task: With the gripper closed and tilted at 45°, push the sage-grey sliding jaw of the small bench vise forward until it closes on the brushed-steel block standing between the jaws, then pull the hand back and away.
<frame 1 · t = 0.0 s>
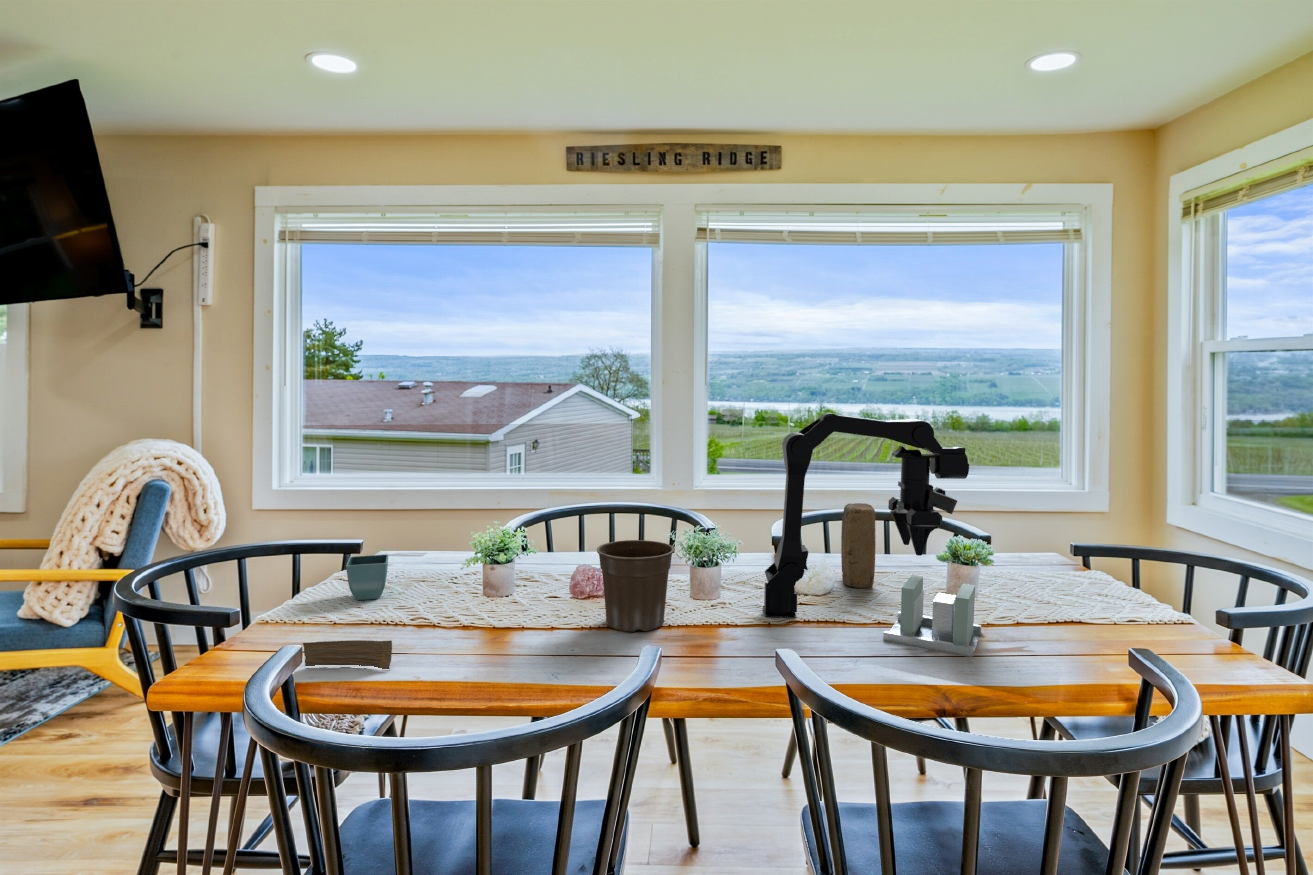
hand: (912, 549, 154), 15 cm above the table, tool pointing down, fingers open, 9 cm apart
flower pot: (369, 597, 168), on the table
wood plank: (347, 670, 127), on the table
plant pot: (635, 623, 151), on the table
block: (856, 583, 180), on the table
fixed jaw: (963, 616, 138), point 6 cm above the table
sliding jaw: (912, 606, 142), point 6 cm above the table, slide at 0.0 cm
vise base: (943, 642, 140), on the table
steel block: (943, 637, 140), point 1 cm above the table, touching vise base
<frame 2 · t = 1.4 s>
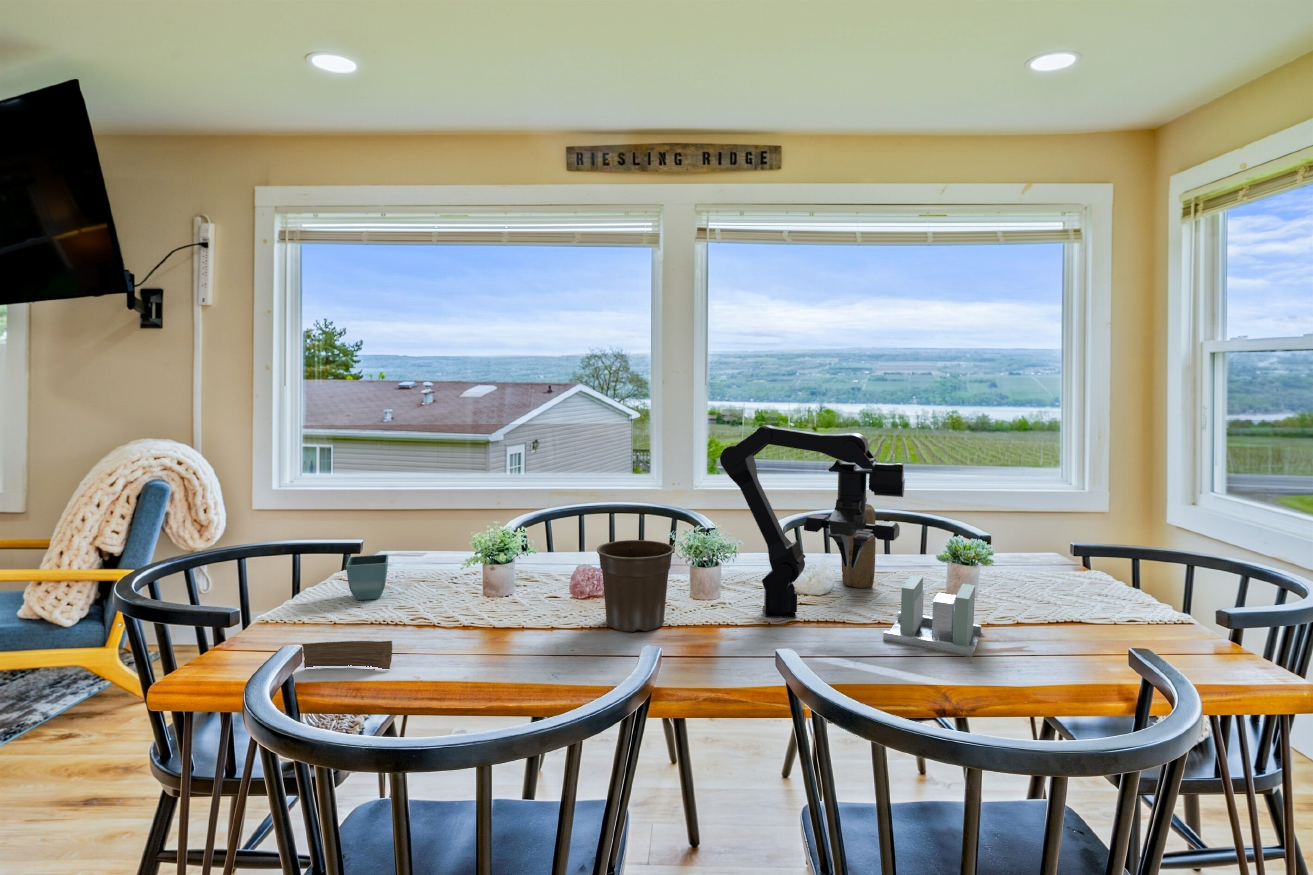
hand: (849, 567, 150), 12 cm above the table, tool pointing down, fingers closed
nothing on the table moved.
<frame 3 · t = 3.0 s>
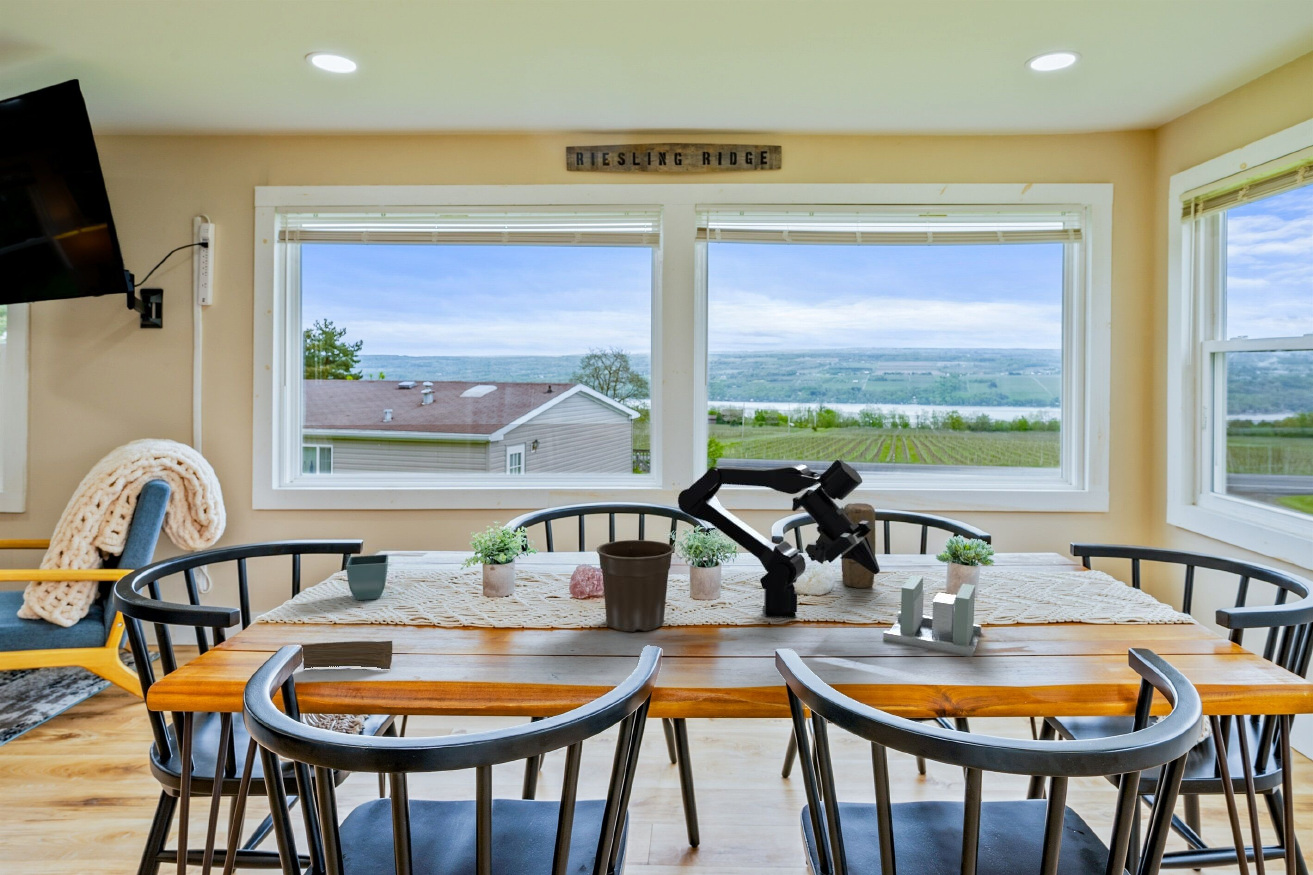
hand: (877, 572, 145), 12 cm above the table, tool tilted 45°, fingers closed
nothing on the table moved.
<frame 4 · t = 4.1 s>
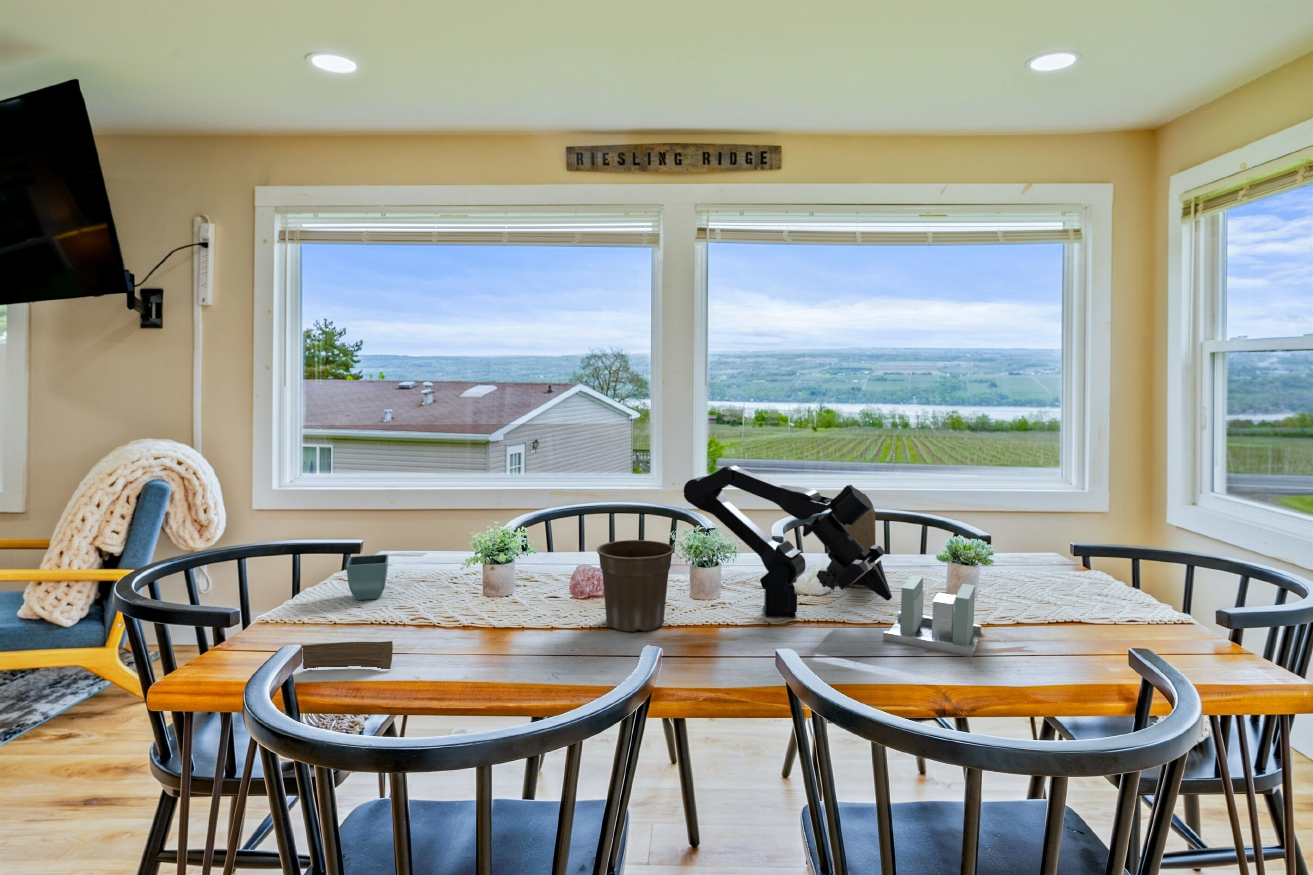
hand: (890, 599, 144), 7 cm above the table, tool tilted 45°, fingers closed
nothing on the table moved.
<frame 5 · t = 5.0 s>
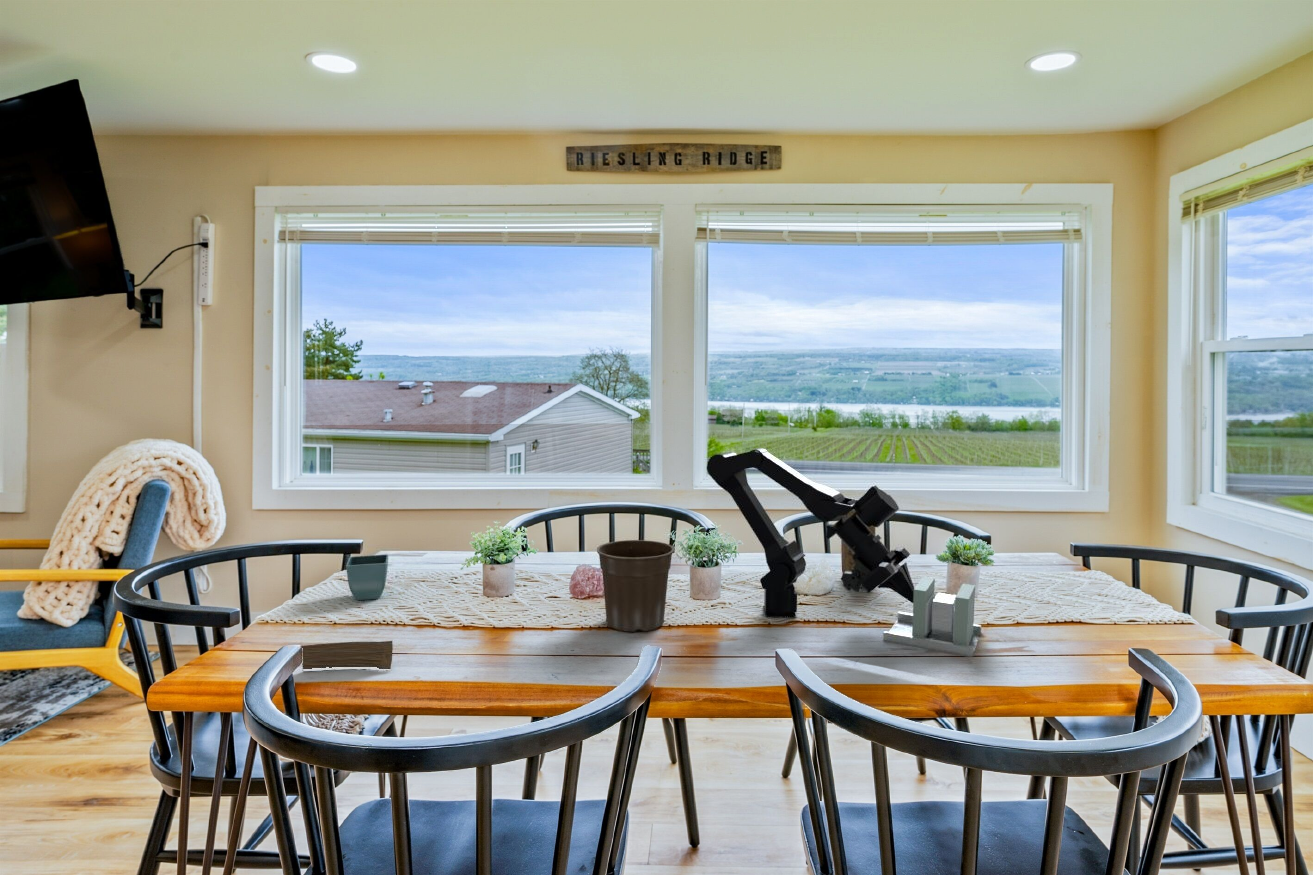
hand: (916, 602, 142), 7 cm above the table, tool tilted 45°, fingers closed
sliding jaw: (924, 608, 141), point 6 cm above the table, slide at 2.3 cm, touching gripper
everything else where it was.
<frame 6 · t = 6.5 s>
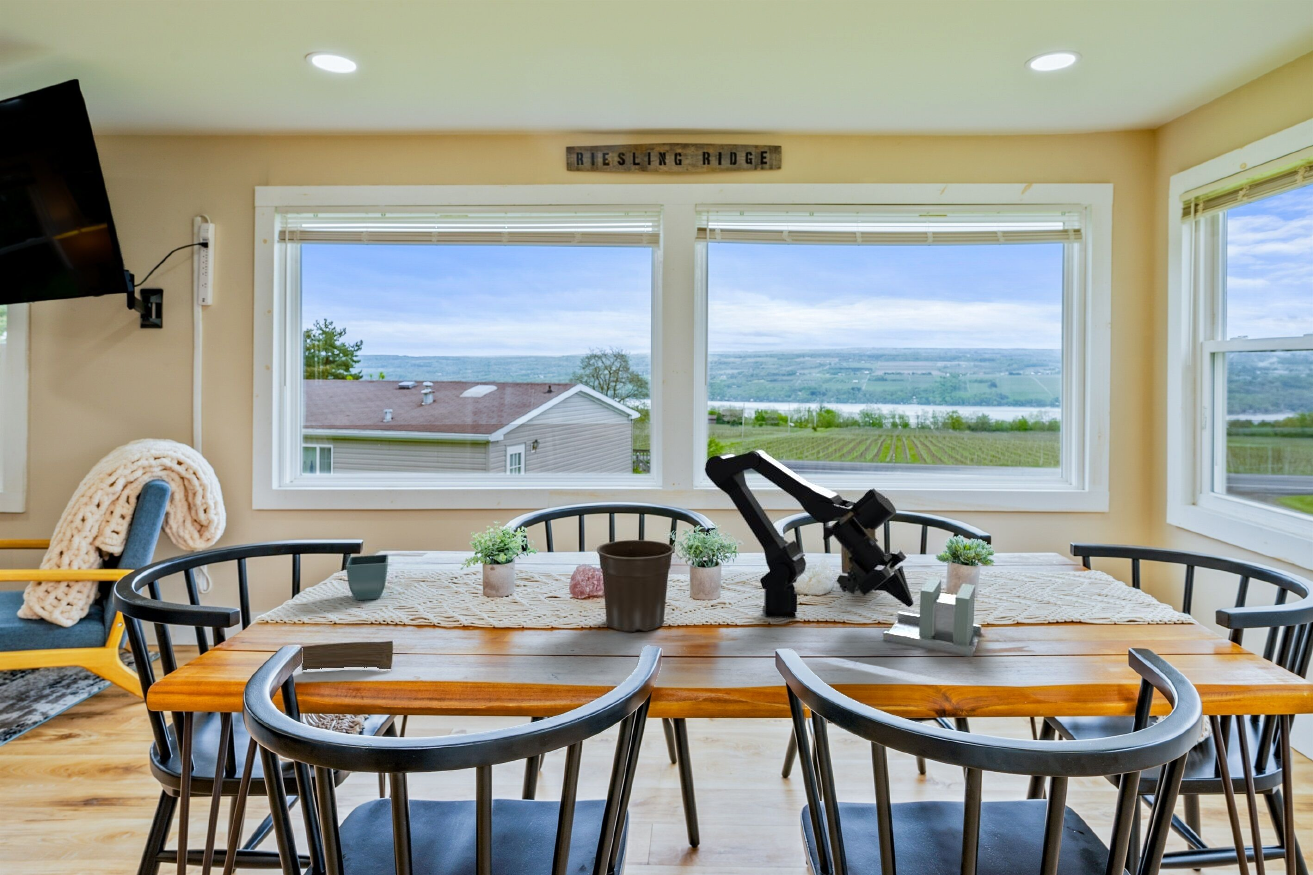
hand: (911, 605, 142), 6 cm above the table, tool tilted 45°, fingers closed
sliding jaw: (931, 609, 141), point 6 cm above the table, slide at 3.5 cm
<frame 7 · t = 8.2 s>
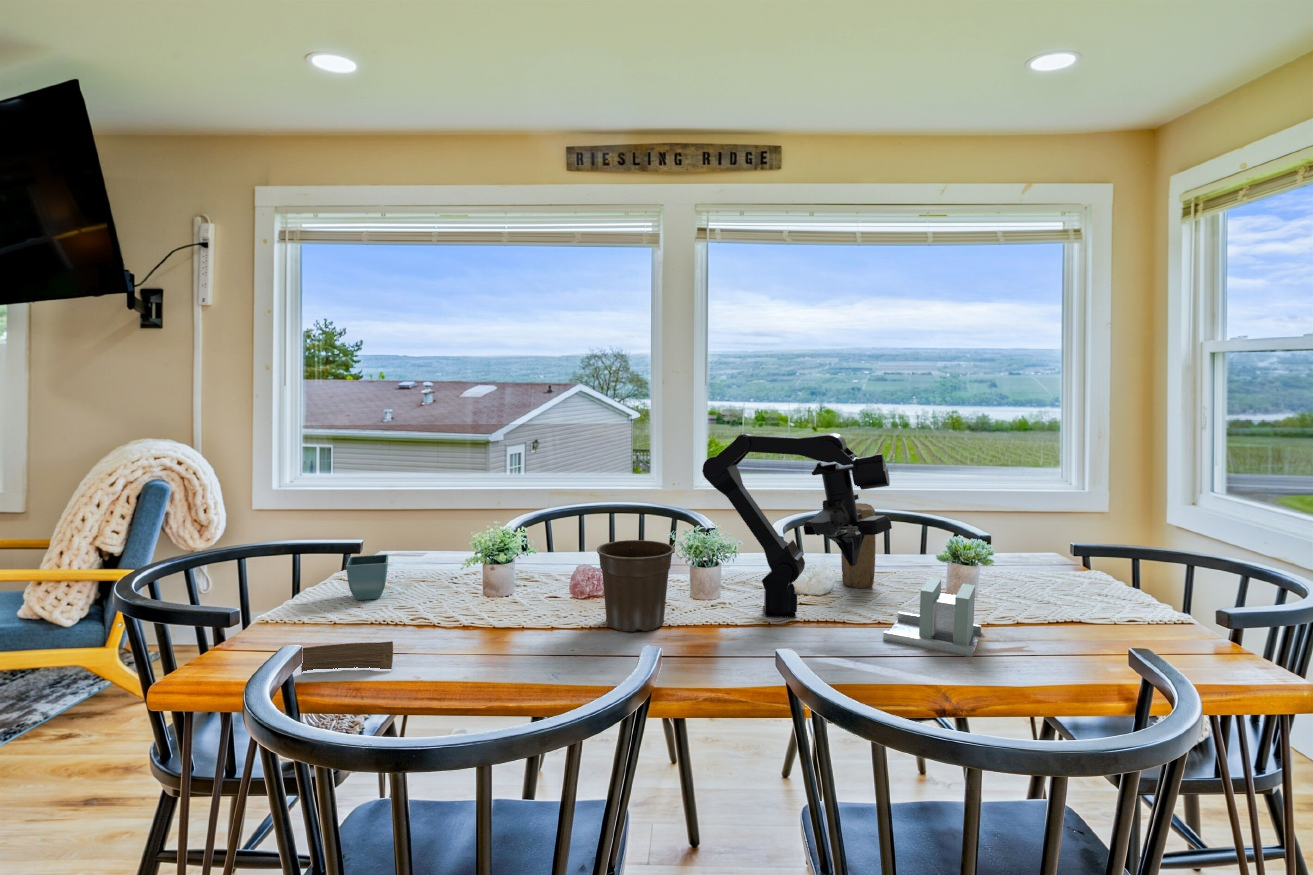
hand: (853, 565, 150), 12 cm above the table, tool pointing down, fingers closed
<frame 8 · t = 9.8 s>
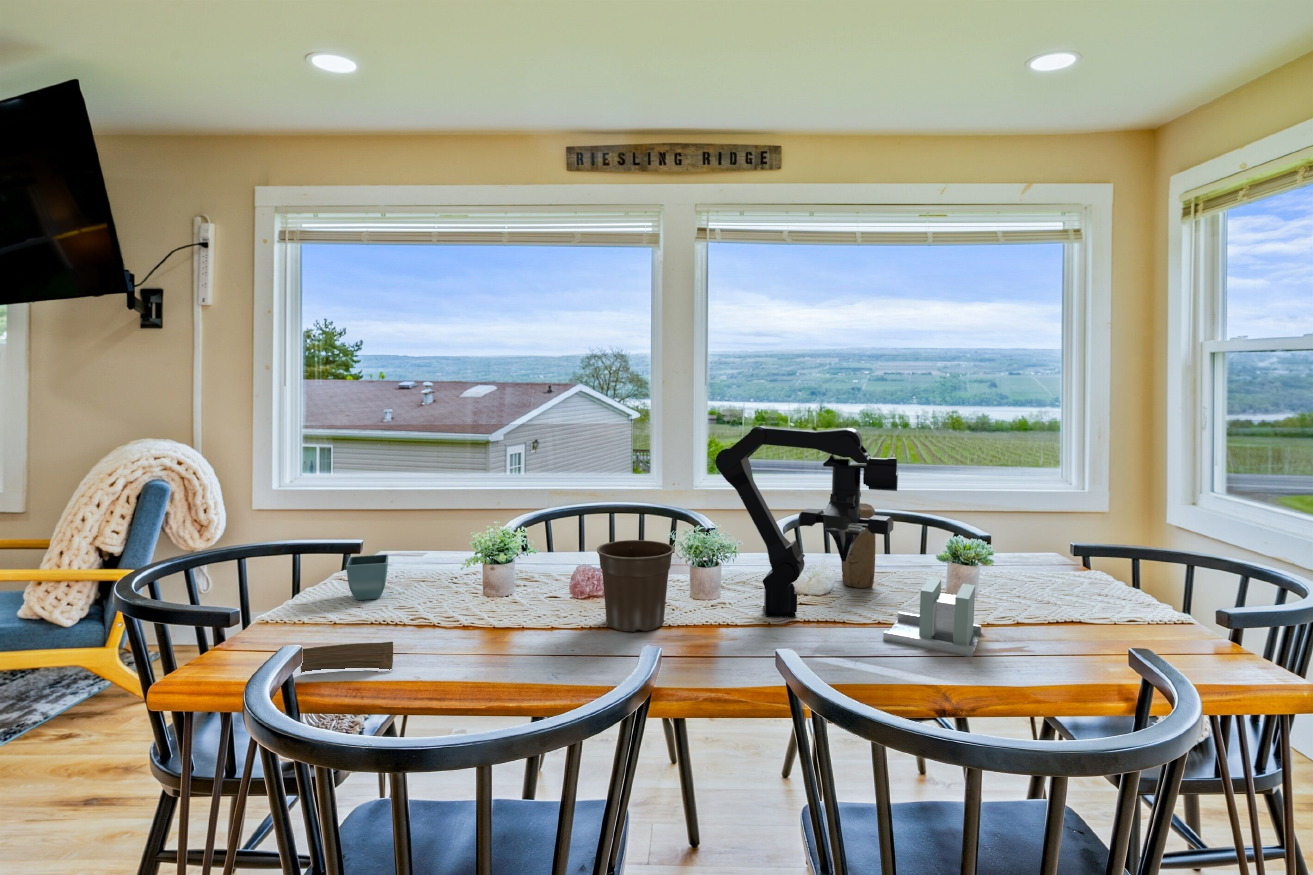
hand: (844, 561, 151), 13 cm above the table, tool pointing down, fingers closed
at the end: sliding jaw slide at 3.5 cm; steel block 0.3 cm off-centre on the vise base, point 1.0 cm above the vise base's base; steel block tilted 0° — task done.
